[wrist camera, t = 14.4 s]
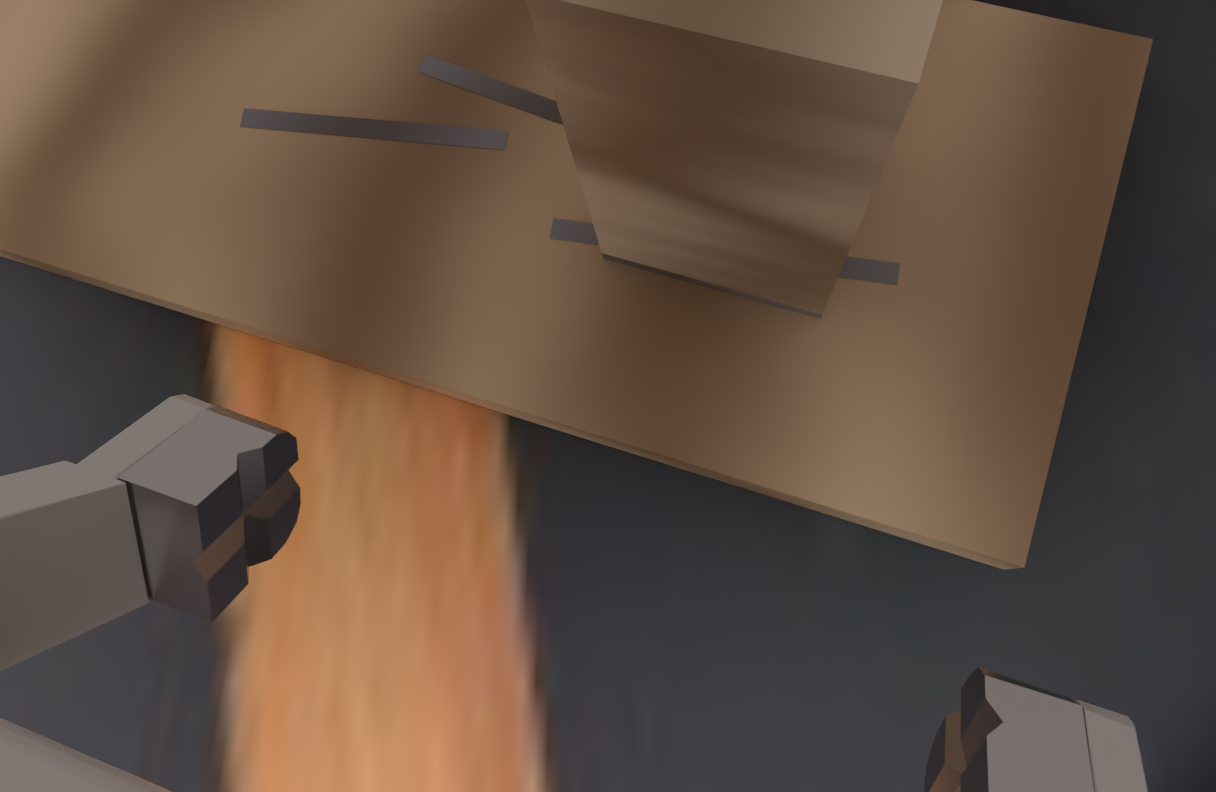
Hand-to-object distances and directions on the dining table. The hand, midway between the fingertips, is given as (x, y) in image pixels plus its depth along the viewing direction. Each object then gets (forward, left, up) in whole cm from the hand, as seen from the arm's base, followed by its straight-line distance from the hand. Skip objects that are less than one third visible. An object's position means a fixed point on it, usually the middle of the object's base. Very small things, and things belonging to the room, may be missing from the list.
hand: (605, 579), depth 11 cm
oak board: (+7, -8, -8) cm, 13 cm away
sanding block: (+1, -8, -7) cm, 10 cm away
